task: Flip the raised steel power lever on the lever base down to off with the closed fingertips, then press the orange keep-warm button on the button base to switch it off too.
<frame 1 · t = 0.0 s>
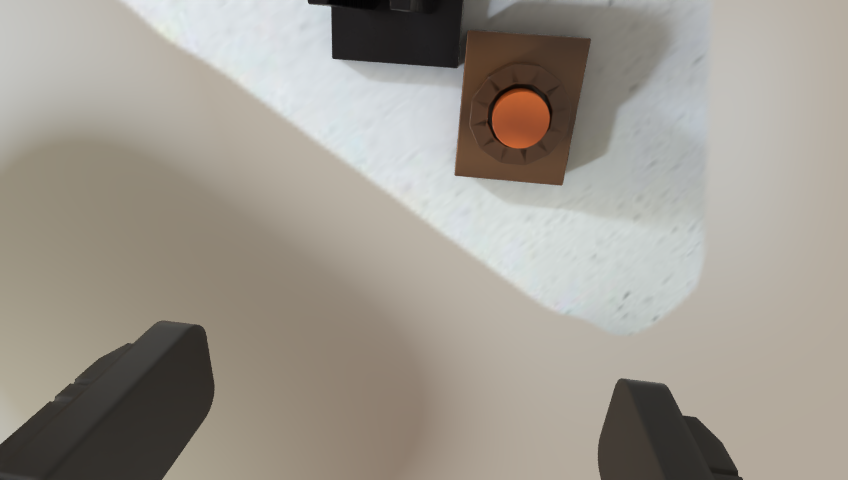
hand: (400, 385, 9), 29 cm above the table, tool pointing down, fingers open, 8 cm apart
button base: (515, 107, 35), on the table
warm button: (519, 118, 31), point 4 cm above the table, slide at 0.1 cm
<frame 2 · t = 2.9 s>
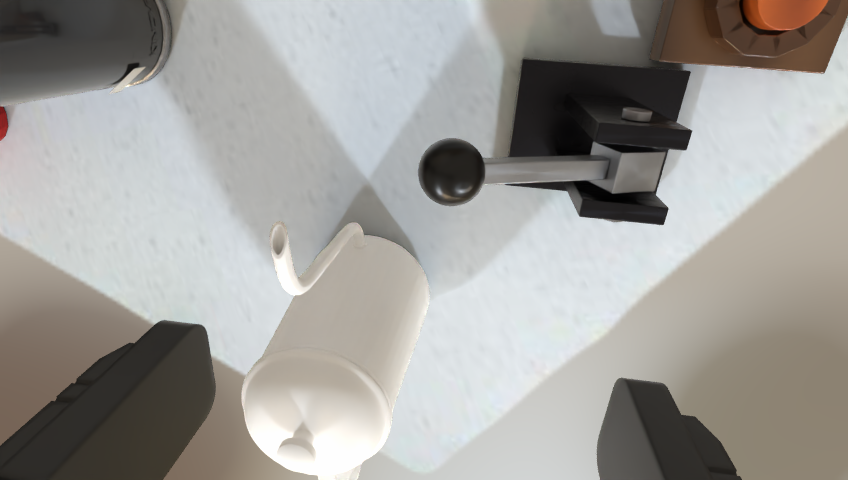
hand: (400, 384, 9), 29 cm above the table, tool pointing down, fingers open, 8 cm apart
coffeepot: (371, 280, 42), on the table
lever base: (588, 128, 35), on the table
power lever: (541, 169, 24), point 12 cm above the table, hinge at 25.0°
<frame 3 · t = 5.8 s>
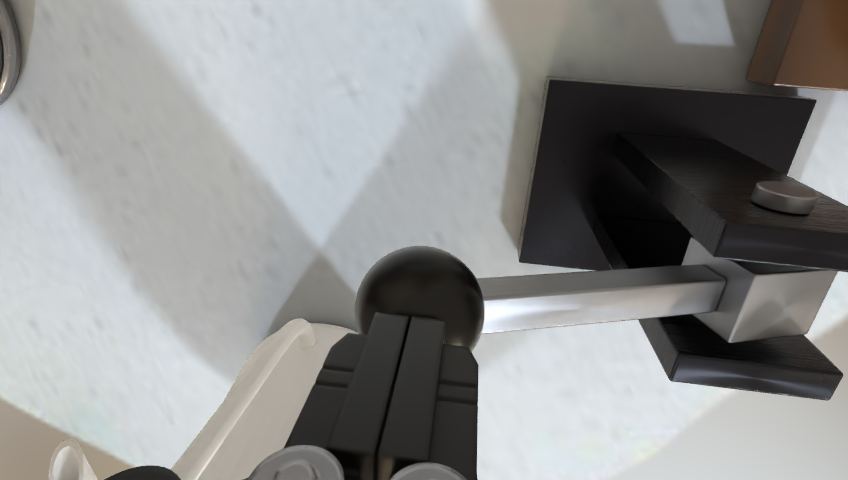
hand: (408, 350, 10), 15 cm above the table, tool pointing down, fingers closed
coffeepot: (331, 377, 31), on the table
lever base: (644, 182, 23), on the table
power lever: (595, 296, 13), point 12 cm above the table, hinge at 19.8°, touching gripper
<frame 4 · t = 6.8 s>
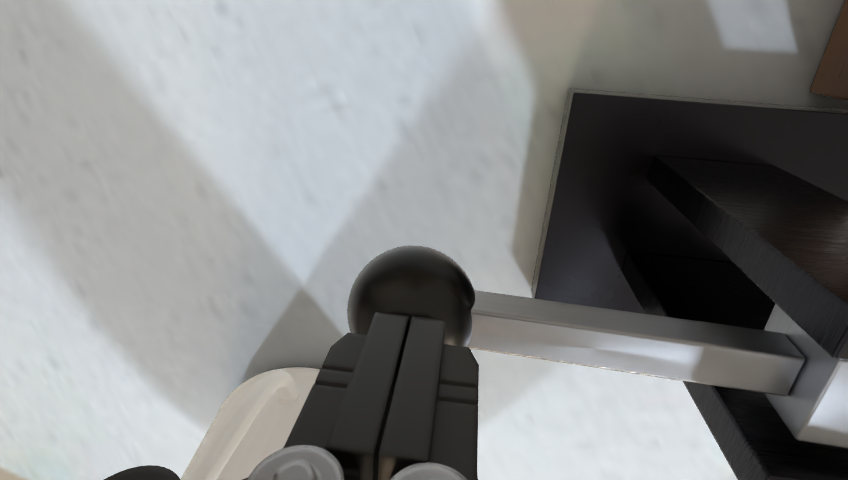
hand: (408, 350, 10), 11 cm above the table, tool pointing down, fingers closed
coffeepot: (318, 424, 27), on the table
lever base: (682, 211, 20), on the table
power lever: (616, 339, 11), point 10 cm above the table, hinge at -3.0°, touching gripper
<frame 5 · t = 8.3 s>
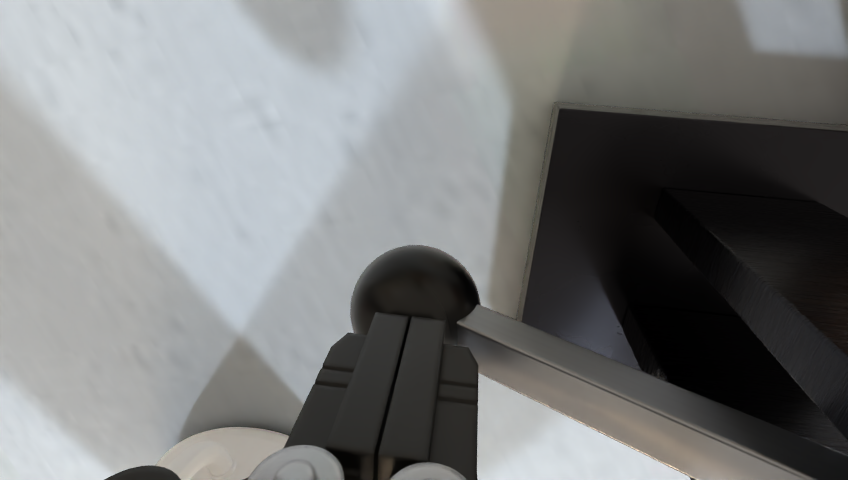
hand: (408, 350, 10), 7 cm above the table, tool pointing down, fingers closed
lever base: (696, 253, 16), on the table
power lever: (617, 400, 9), point 8 cm above the table, hinge at -28.6°, touching gripper
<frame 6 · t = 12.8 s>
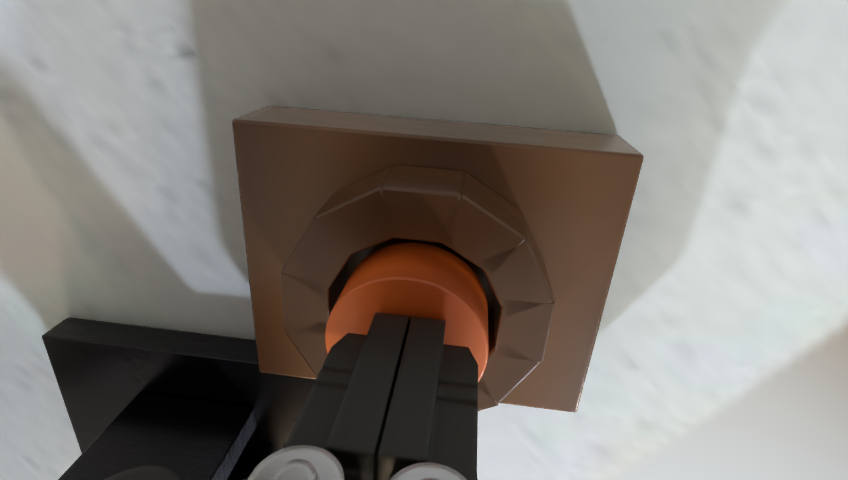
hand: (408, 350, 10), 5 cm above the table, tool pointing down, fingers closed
lever base: (221, 423, 19), on the table
button base: (429, 247, 15), on the table
warm button: (410, 327, 11), point 4 cm above the table, slide at 0.0 cm, touching gripper
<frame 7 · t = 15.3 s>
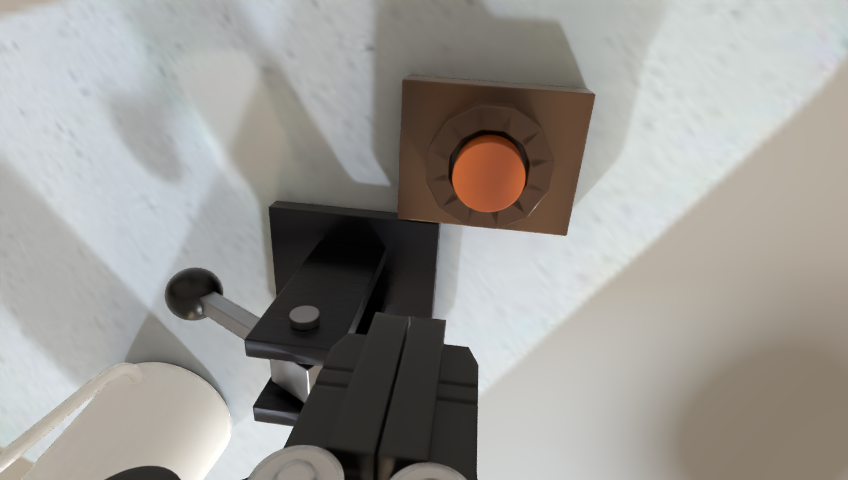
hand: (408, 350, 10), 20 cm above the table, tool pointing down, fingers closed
coffeepot: (176, 400, 41), on the table
lever base: (357, 269, 33), on the table
power lever: (244, 324, 26), point 8 cm above the table, hinge at -28.6°
button base: (488, 151, 28), on the table
warm button: (488, 173, 24), point 4 cm above the table, slide at 0.1 cm
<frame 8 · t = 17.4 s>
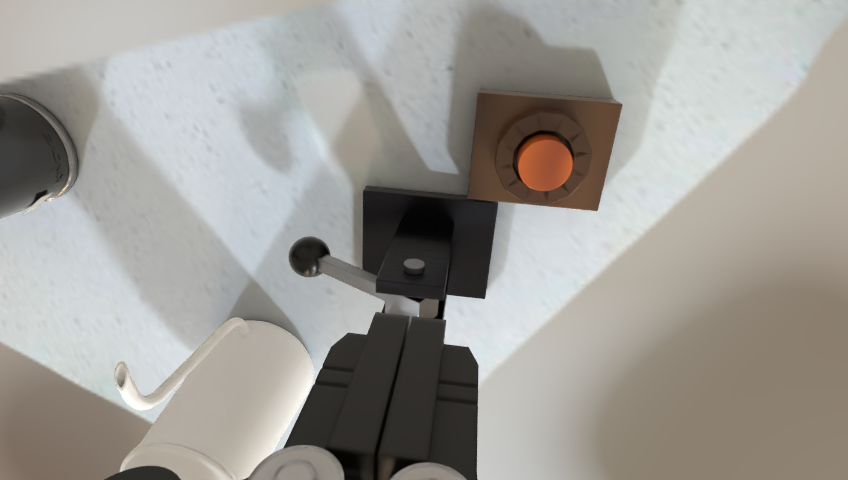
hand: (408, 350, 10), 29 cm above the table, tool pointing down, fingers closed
coffeepot: (265, 354, 49), on the table
lever base: (427, 240, 41), on the table
power lever: (356, 277, 35), point 8 cm above the table, hinge at -28.6°
button base: (537, 147, 37), on the table
warm button: (543, 162, 33), point 4 cm above the table, slide at 0.1 cm
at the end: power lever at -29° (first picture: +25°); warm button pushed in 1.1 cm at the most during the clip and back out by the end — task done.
